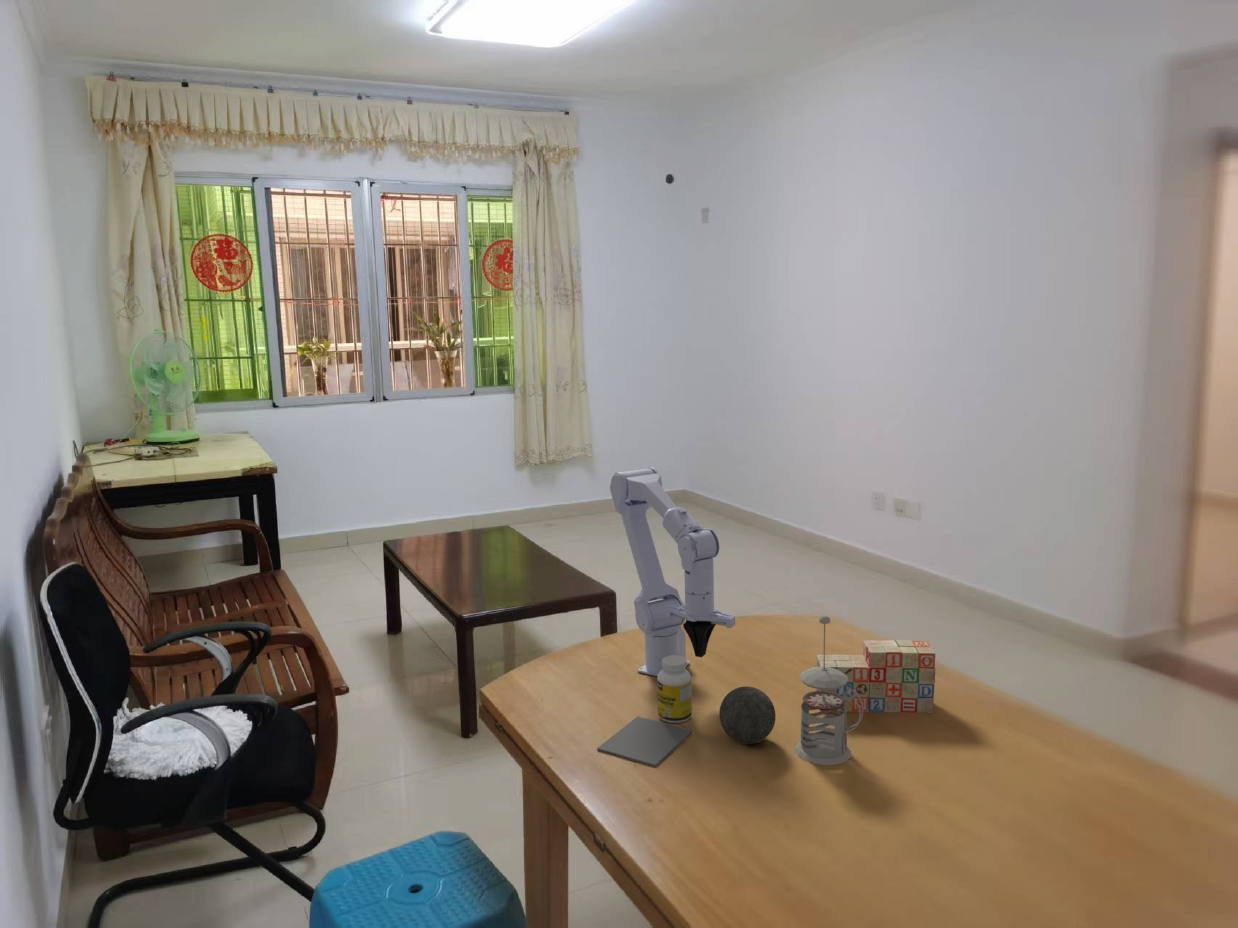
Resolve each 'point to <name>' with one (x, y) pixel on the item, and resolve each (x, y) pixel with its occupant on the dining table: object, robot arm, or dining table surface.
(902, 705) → the stack of blocks
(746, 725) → the decorative ball
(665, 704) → the pill bottle
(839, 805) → the dining table surface
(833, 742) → the french press
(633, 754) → the mat
